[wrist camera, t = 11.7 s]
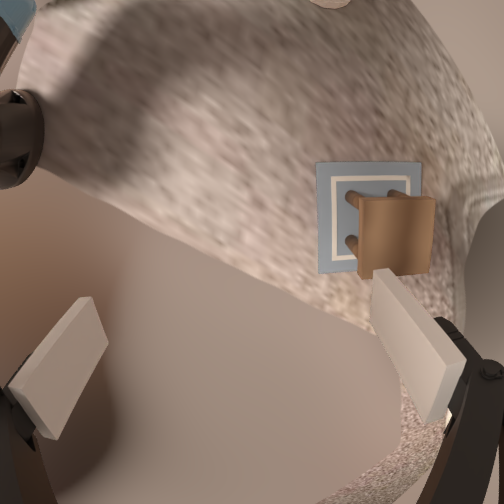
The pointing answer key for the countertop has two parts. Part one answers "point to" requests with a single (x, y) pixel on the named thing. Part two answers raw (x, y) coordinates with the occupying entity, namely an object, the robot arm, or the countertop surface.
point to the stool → (392, 233)
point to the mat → (347, 216)
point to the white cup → (331, 3)
